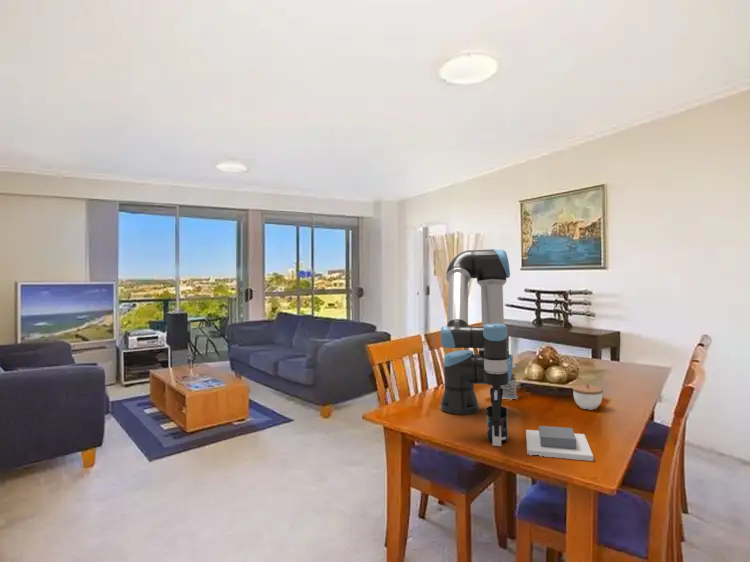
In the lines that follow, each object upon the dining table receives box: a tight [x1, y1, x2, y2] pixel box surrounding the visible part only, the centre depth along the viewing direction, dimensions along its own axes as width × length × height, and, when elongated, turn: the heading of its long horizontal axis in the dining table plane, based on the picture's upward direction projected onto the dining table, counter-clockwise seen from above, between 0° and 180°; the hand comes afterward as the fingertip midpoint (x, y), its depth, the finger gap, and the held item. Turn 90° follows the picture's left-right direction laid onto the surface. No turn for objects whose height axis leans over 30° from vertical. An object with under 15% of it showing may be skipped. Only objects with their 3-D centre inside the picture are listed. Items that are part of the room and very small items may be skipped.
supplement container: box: [485, 405, 509, 444], centre depth 147 cm, size 7×7×10 cm
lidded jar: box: [572, 383, 604, 411], centre depth 179 cm, size 11×11×9 cm
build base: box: [525, 425, 594, 462], centre depth 140 cm, size 18×18×4 cm
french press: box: [501, 340, 519, 401], centre depth 197 cm, size 10×12×25 cm
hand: (497, 439), depth 147 cm, fingers open, 9 cm apart
